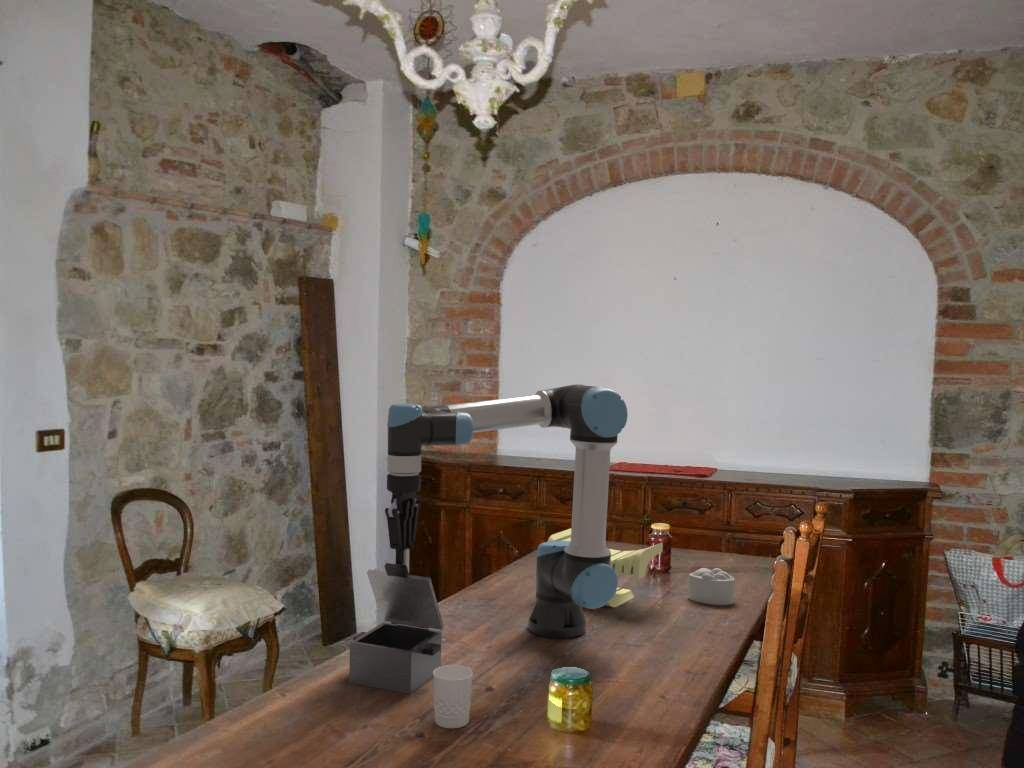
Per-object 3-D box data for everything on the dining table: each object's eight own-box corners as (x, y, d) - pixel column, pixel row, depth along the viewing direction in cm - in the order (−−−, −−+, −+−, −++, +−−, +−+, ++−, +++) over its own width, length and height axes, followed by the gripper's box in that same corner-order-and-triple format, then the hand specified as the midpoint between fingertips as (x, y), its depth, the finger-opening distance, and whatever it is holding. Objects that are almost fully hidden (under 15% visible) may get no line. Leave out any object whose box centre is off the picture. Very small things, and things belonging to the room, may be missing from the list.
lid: (442, 632, 203) (445, 626, 204) (425, 571, 193) (428, 566, 195) (383, 622, 208) (386, 617, 210) (363, 563, 199) (367, 558, 200)
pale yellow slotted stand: (544, 596, 263) (546, 536, 262) (570, 584, 276) (572, 527, 275) (637, 616, 247) (639, 552, 246) (660, 602, 260) (662, 542, 259)
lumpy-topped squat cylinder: (699, 591, 272) (700, 563, 272) (739, 599, 265) (741, 571, 264) (684, 599, 264) (685, 570, 263) (726, 608, 256) (727, 578, 256)
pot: (450, 671, 203) (451, 632, 202) (420, 696, 189) (421, 654, 188) (373, 658, 210) (374, 620, 209) (339, 681, 195) (340, 640, 195)
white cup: (431, 713, 180) (433, 664, 180) (470, 712, 181) (472, 664, 180) (431, 730, 172) (432, 680, 172) (472, 730, 173) (473, 679, 173)
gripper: (402, 467, 206) (400, 568, 207) (374, 475, 194) (372, 582, 195) (432, 470, 203) (429, 572, 205) (405, 478, 191) (403, 586, 192)
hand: (402, 577), depth 200 cm, fingers closed
